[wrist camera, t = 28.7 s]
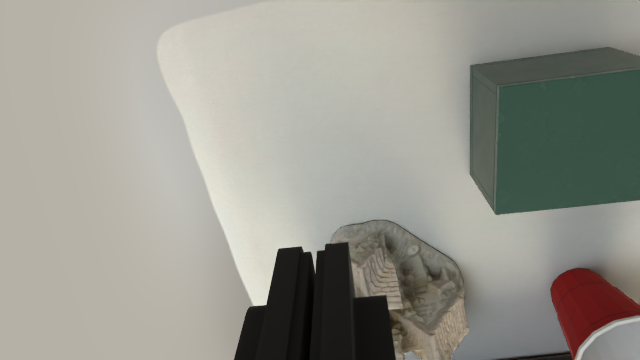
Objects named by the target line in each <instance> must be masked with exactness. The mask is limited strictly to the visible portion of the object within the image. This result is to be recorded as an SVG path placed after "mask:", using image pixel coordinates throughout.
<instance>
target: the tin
mask: <svg viewBox="0 0 640 360" xmlns="http://www.w3.org/2000/svg"><path fill="white" fill-rule="evenodd" d="M637 67H640V56H637V55H633V54H630V53H627V52H623V51H620V50H617V49H613V48H610V47H606V48H598V49H591V50H583V51H575V52H568V53H560V54H552V55H545V56H537V57H530V58H522V59H514V60H507V61H499V62H492V63H484V64H476V65H471V66H470V175H471V177H472V178H473V180H474V181H475V183H476V185H477V186H478V188H479V189H480V191H481V192H482V194H483V196H484V197H485V199H486V200H487V202H488V203H489V205H490V207H491V208H492V210H493V208H494V174H495V139H496V104H497V85H504V84H511V83H519V82H527V81H535V80H543V79H551V78H558V77H566V76H574V75H582V74H590V73H598V72H605V71H613V70H621V69H629V68H637Z"/></svg>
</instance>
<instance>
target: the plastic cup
mask: <svg viewBox="0 0 640 360" xmlns="http://www.w3.org/2000/svg"><path fill="white" fill-rule="evenodd" d="M550 290H551V297H552V302H553V304H554V307H555V309H556V312H557V316H558V320H559V323H560V325H561V328H562V331H563V333H564V336H565V338H566V341H567V344H568V346H569V349H570V352H571V356H572V359H573V360H640V305H638V304H637V303H636V302H634V301H633V300H632V299H630V298H629V297H628V296H627V295H625V294H624V293H623V292H621V291H620V290H619V289H617V288H616V287H614V286H612V285H611V284H610V283H608V282H607V281H606V280H605V279H604V278H602V277H601V276H600V275H598V274H596V273H594V272H592V271H590V270H588V269H580V268H577V269H573V270H569V271H567V272H565V273H563V274H561V275H559V276H558V278H557V279H556V280H555V281H554V282H553V284H552V287H551V289H550Z"/></svg>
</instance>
